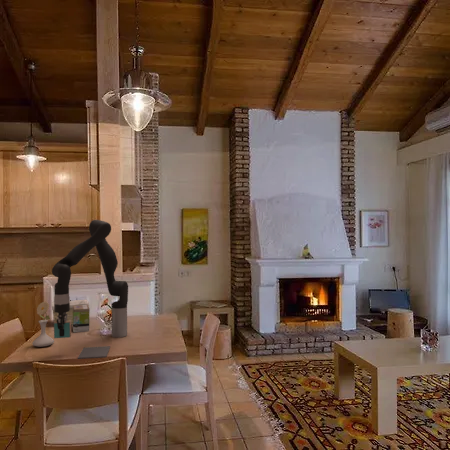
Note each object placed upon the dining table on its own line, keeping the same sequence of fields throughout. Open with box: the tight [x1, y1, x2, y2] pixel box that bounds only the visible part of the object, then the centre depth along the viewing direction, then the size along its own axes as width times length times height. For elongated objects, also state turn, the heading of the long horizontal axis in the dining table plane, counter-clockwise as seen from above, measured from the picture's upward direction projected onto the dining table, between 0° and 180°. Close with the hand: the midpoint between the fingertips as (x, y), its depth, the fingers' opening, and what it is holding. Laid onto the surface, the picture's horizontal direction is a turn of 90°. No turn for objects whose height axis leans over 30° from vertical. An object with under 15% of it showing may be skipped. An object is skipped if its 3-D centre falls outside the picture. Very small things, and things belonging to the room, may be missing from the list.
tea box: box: [72, 305, 91, 333], centre depth 268 cm, size 15×10×15 cm, turn 22°
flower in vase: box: [31, 301, 55, 348], centre depth 231 cm, size 13×11×25 cm
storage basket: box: [51, 299, 90, 326], centre depth 285 cm, size 24×16×15 cm
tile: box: [53, 321, 72, 339], centre depth 215 cm, size 2×8×8 cm, turn 99°
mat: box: [77, 345, 111, 360], centre depth 218 cm, size 18×14×1 cm
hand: (62, 335), depth 215 cm, fingers closed on tile, 2 cm apart
